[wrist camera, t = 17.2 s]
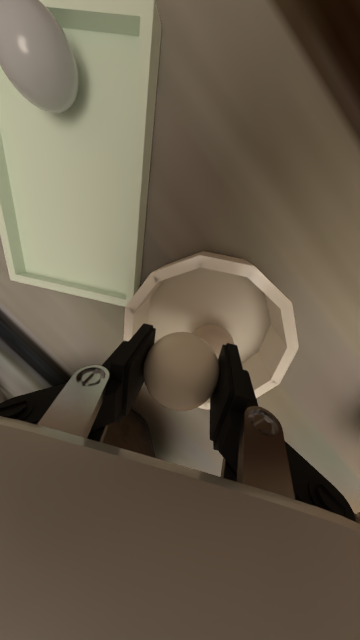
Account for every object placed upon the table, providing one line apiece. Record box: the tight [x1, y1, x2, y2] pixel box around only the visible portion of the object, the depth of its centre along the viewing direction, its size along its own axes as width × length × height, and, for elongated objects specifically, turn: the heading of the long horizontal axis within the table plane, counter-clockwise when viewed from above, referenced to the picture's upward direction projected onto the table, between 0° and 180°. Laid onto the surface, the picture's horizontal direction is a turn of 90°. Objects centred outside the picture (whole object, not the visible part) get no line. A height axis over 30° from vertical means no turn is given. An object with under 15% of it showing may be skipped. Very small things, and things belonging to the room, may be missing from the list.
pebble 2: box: [143, 332, 219, 411], centre depth 10 cm, size 4×4×4 cm
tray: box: [0, 0, 162, 307], centre depth 14 cm, size 17×12×2 cm
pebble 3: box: [192, 324, 234, 359], centre depth 16 cm, size 4×4×4 cm
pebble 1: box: [0, 0, 78, 113], centre depth 10 cm, size 4×4×4 cm
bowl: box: [123, 251, 299, 409], centre depth 16 cm, size 12×12×4 cm
